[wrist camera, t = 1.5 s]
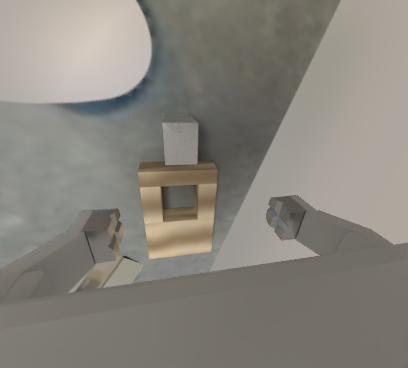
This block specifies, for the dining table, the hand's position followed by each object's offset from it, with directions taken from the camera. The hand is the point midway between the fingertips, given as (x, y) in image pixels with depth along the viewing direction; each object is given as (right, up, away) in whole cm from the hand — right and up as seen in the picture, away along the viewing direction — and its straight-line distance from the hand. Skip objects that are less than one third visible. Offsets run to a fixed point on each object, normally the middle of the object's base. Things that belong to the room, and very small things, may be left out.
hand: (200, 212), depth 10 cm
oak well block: (-5, -3, +25) cm, 25 cm away
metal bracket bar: (-4, +10, +18) cm, 21 cm away
